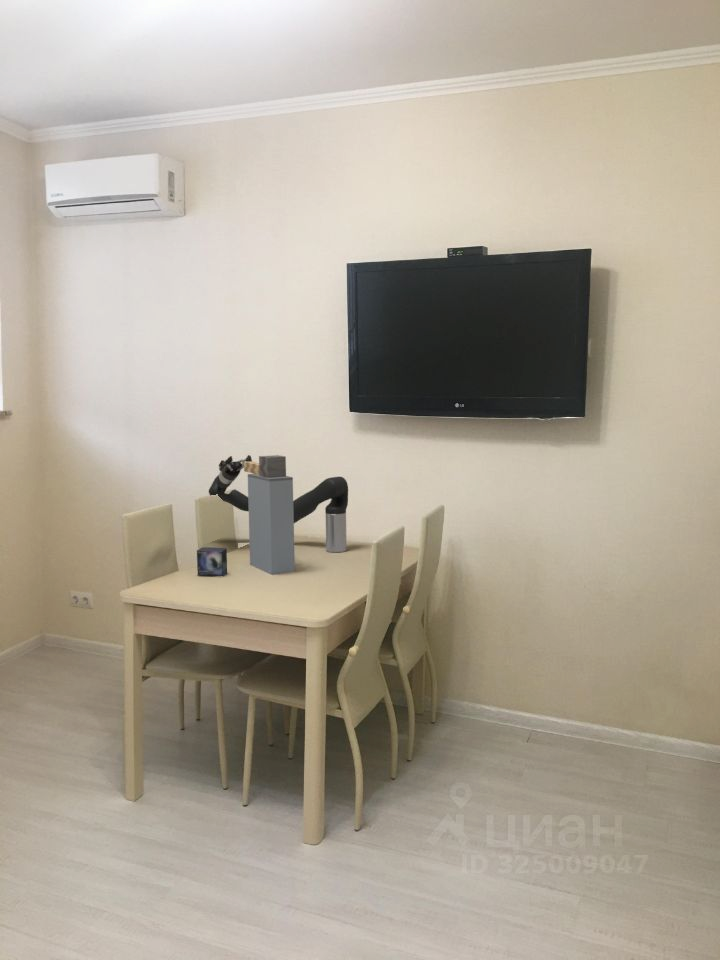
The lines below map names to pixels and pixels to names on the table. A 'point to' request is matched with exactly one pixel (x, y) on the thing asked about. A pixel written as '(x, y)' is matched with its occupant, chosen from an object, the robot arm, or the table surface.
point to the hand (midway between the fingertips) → (240, 457)
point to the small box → (212, 561)
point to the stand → (271, 523)
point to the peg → (267, 466)
